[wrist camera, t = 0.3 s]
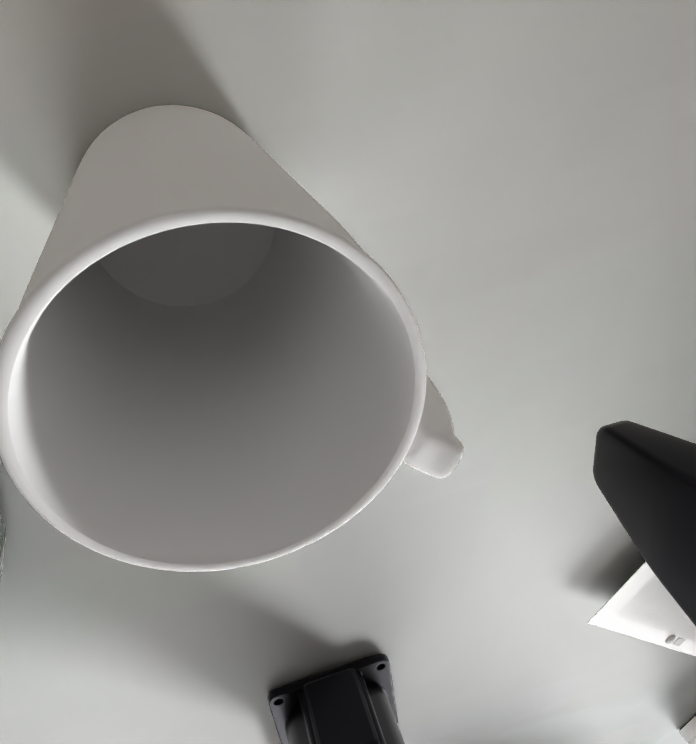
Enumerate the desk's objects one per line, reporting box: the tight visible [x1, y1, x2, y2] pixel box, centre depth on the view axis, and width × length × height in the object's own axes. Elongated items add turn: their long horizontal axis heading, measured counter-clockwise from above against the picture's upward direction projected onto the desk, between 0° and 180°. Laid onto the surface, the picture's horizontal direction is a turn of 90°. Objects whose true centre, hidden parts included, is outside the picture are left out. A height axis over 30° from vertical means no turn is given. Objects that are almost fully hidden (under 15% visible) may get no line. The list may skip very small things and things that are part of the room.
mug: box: [0, 105, 464, 572], centre depth 16 cm, size 10×7×12 cm, turn 58°
